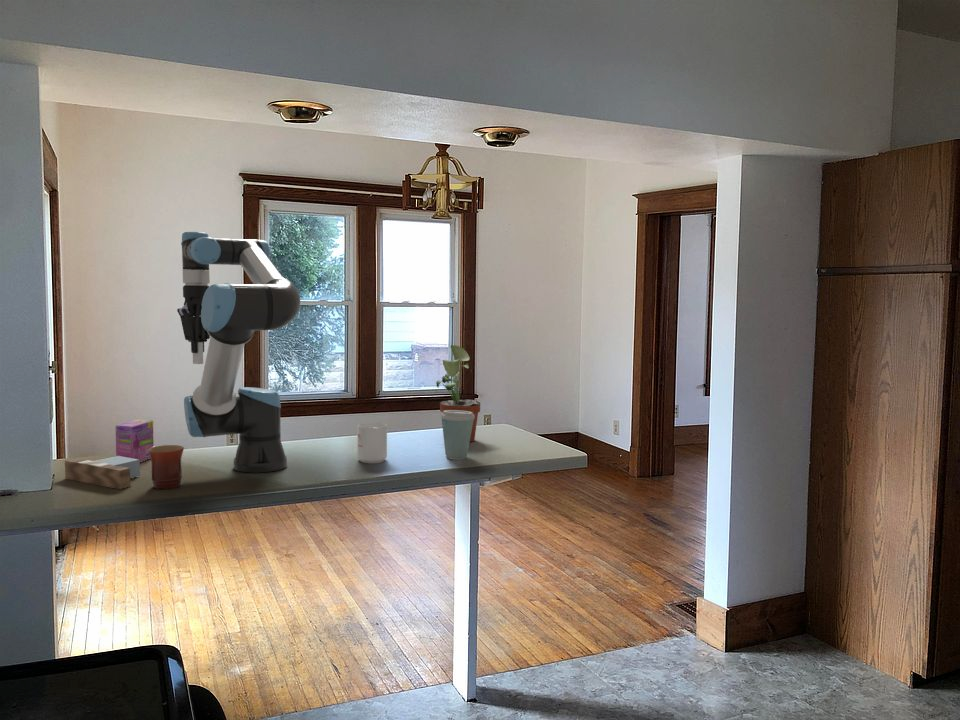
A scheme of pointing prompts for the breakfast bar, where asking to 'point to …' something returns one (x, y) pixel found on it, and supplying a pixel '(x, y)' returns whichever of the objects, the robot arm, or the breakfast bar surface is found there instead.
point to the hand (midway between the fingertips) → (198, 363)
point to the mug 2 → (372, 442)
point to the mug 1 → (166, 466)
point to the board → (97, 473)
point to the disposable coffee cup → (457, 432)
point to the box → (134, 439)
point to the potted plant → (457, 404)
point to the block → (124, 464)
